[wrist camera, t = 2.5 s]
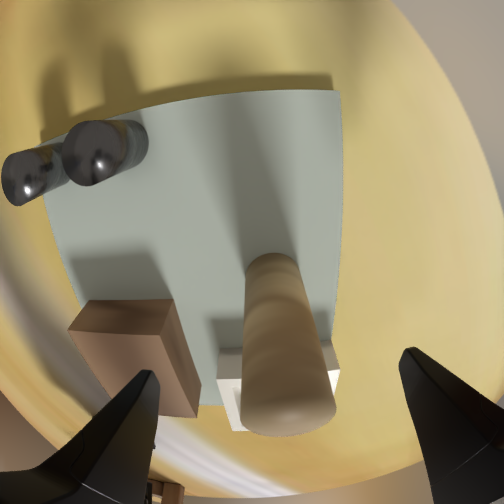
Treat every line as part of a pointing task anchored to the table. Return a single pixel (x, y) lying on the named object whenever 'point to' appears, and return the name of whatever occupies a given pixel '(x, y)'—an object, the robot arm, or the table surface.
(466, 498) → the robot arm
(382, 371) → the table surface
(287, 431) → the dowel
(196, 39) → the table surface
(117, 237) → the mat
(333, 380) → the tray
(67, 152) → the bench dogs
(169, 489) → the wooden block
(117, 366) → the cardboard brown brick
